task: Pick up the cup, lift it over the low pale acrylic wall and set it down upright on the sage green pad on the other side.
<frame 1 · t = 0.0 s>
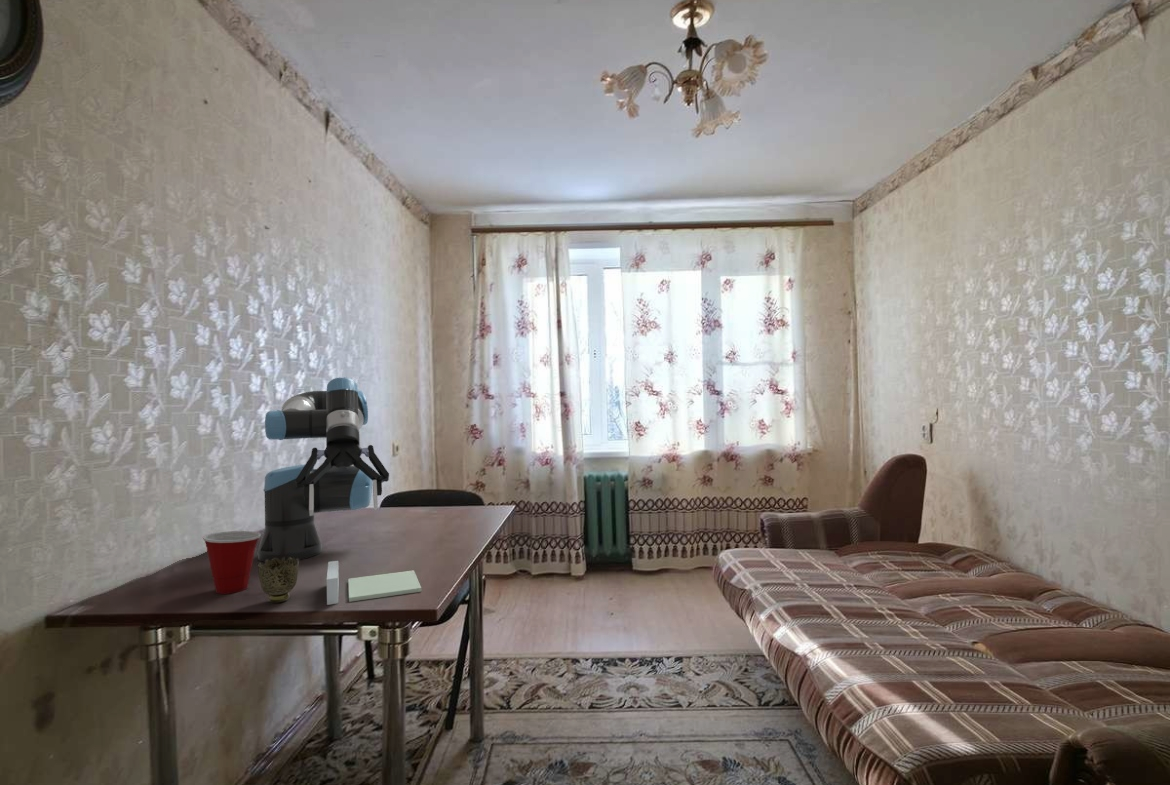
hand: (344, 510, 133), 15 cm above the table, tool tilted 35°, fingers open, 13 cm apart
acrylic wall: (333, 593, 122), on the table
green pad: (383, 586, 126), on the table
plastic cup: (233, 590, 126), on the table
cup: (279, 601, 118), on the table
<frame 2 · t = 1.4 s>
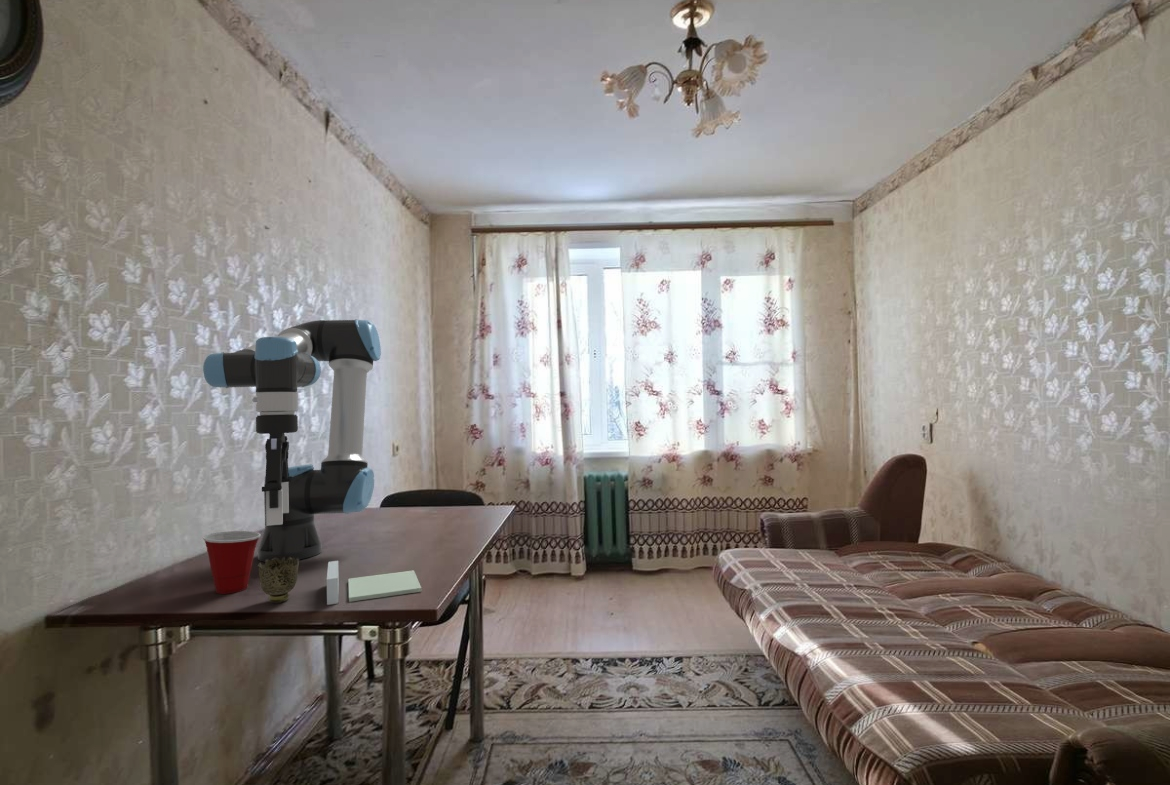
hand: (278, 518, 118), 17 cm above the table, tool pointing down, fingers open, 13 cm apart
nothing on the table moved.
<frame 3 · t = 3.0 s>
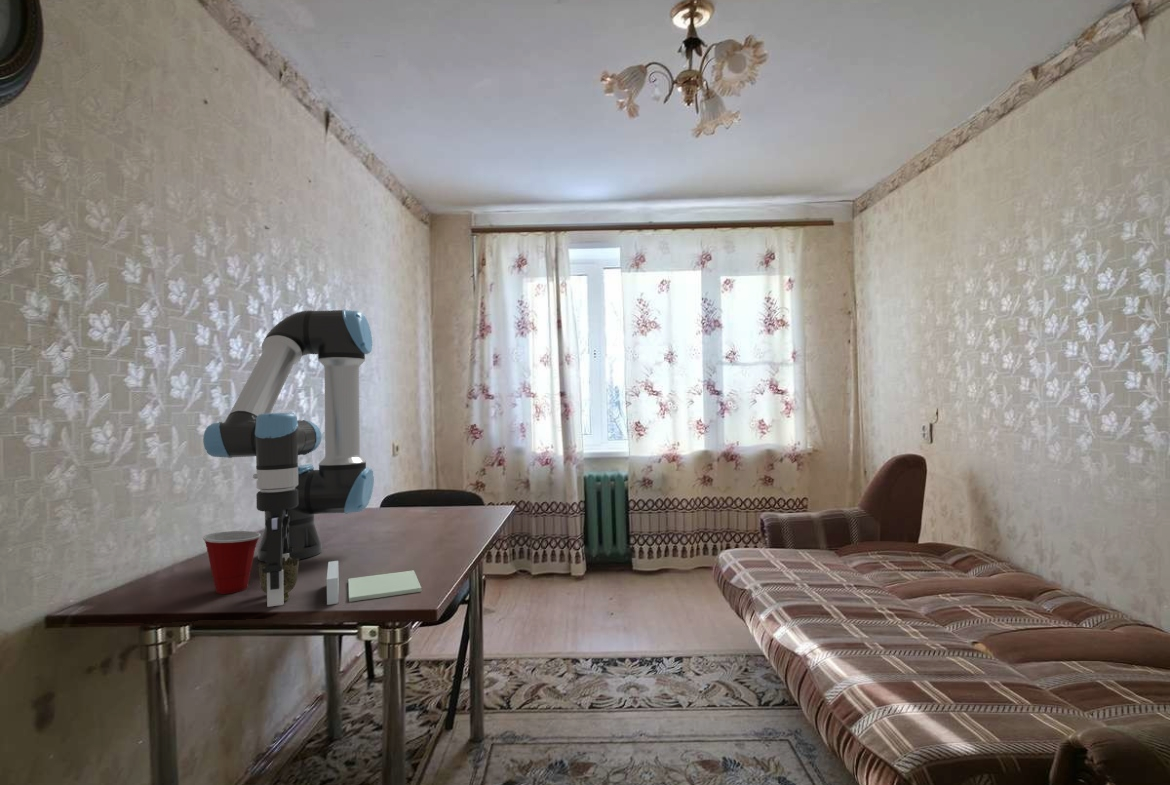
hand: (279, 594, 118), 1 cm above the table, tool pointing down, fingers open, 13 cm apart
nothing on the table moved.
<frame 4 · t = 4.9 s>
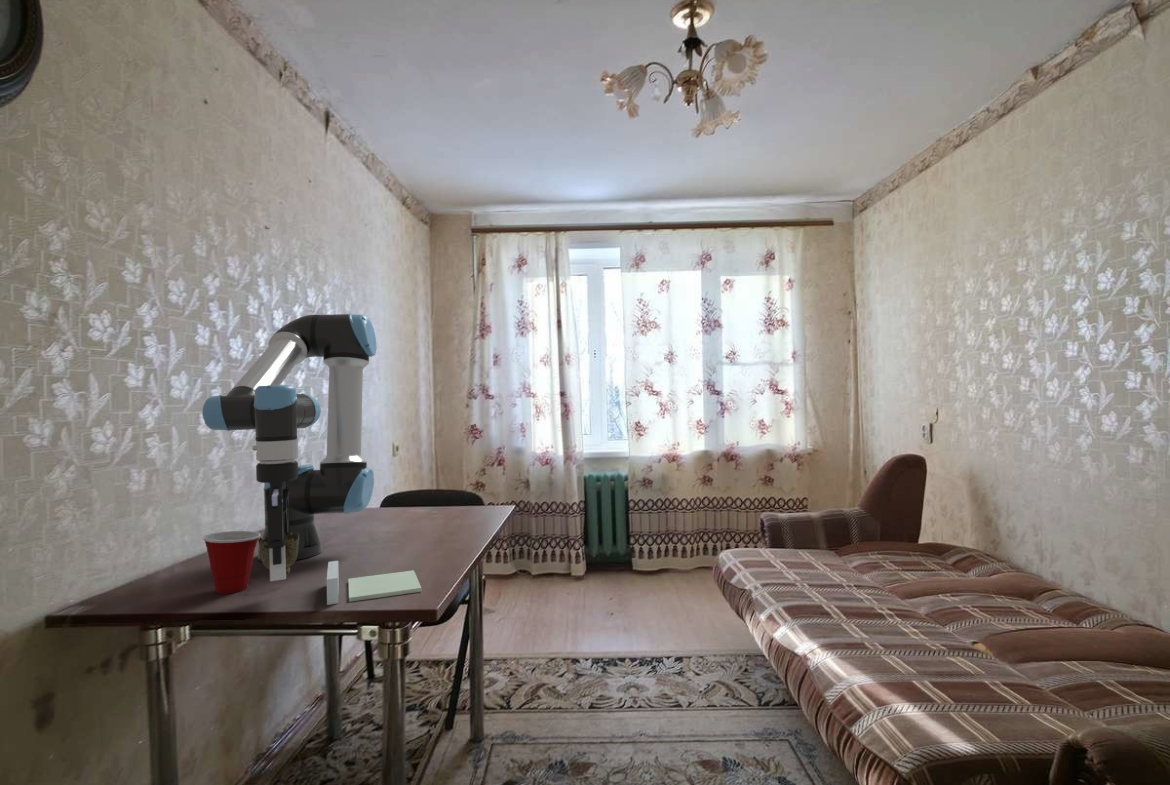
hand: (280, 574, 119), 5 cm above the table, tool pointing down, fingers closed on cup, 7 cm apart
cup: (280, 576, 118), point 5 cm above the table, touching gripper
everything else where it was.
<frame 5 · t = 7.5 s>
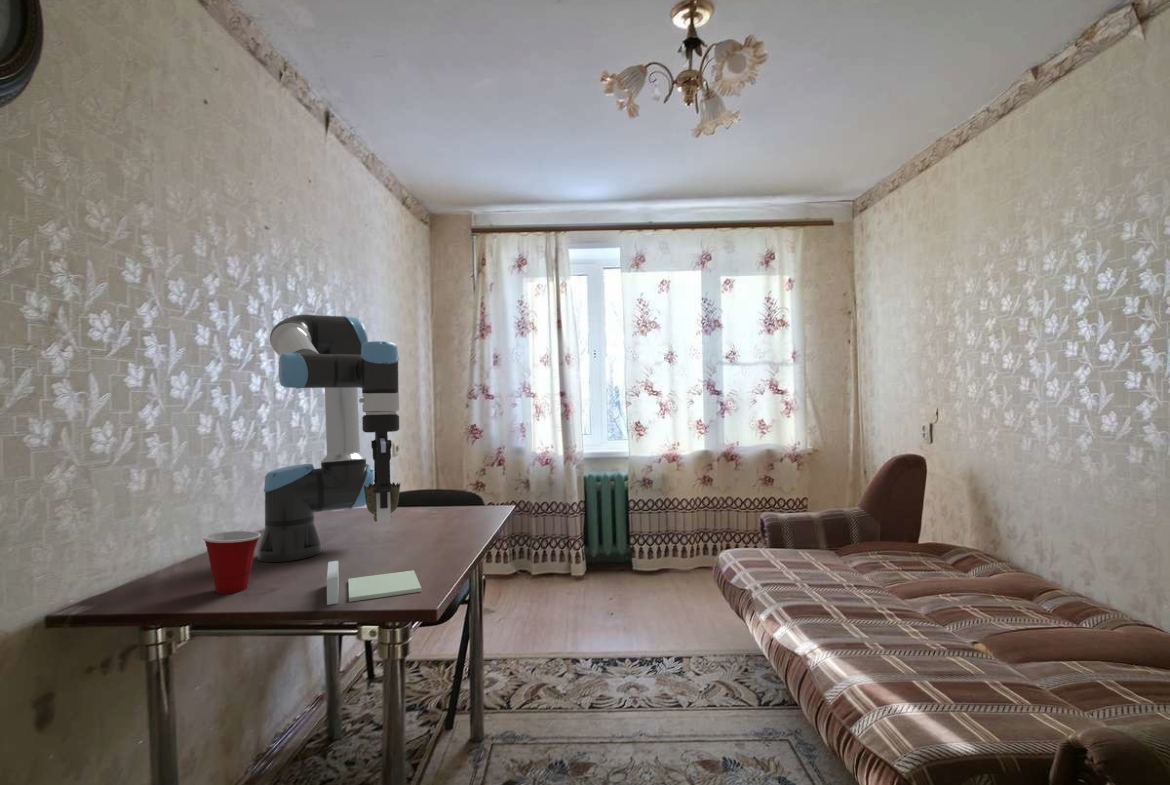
hand: (382, 520, 126), 14 cm above the table, tool pointing down, fingers closed on cup, 7 cm apart
cup: (382, 522, 126), point 14 cm above the table, touching gripper
everything else where it was.
when the fingers open (2 cm above the table, at t = 10.5 s): cup stays where it is, resting on green pad.
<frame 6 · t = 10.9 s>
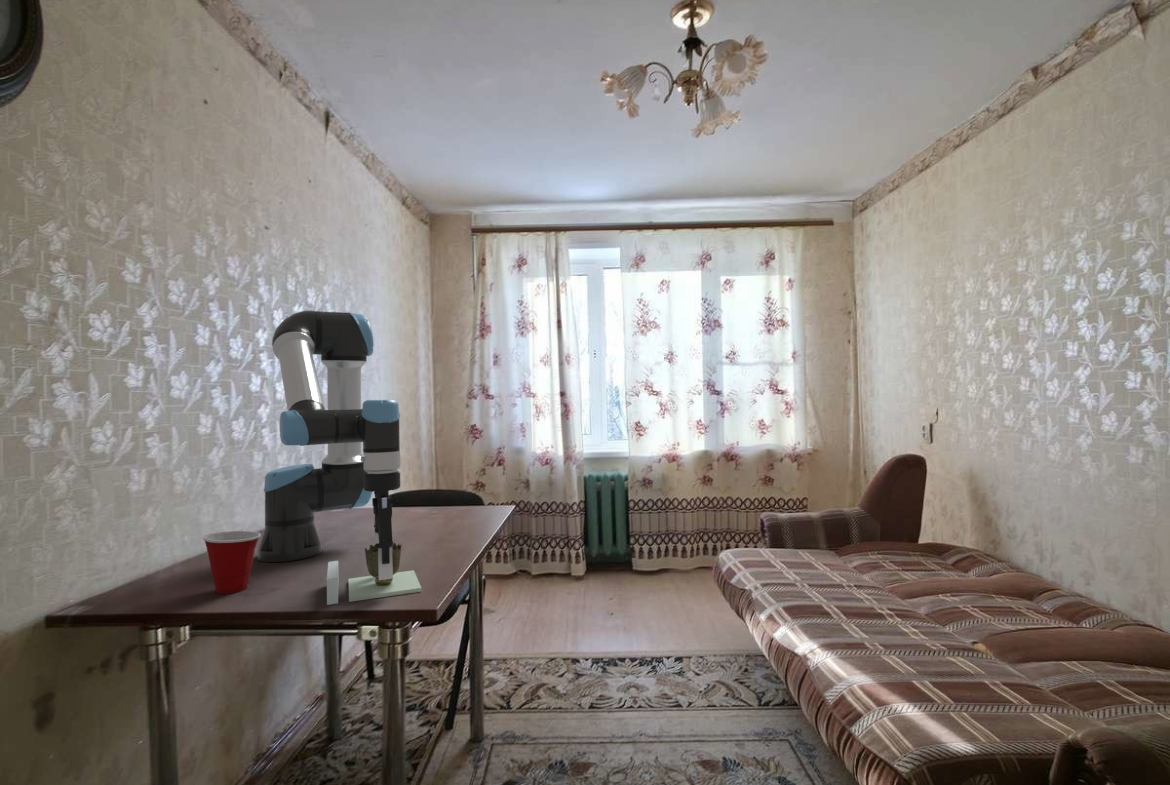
hand: (383, 570, 126), 3 cm above the table, tool pointing down, fingers open, 13 cm apart
cup: (383, 584, 125), point 1 cm above the table, touching green pad
everything else where it was.
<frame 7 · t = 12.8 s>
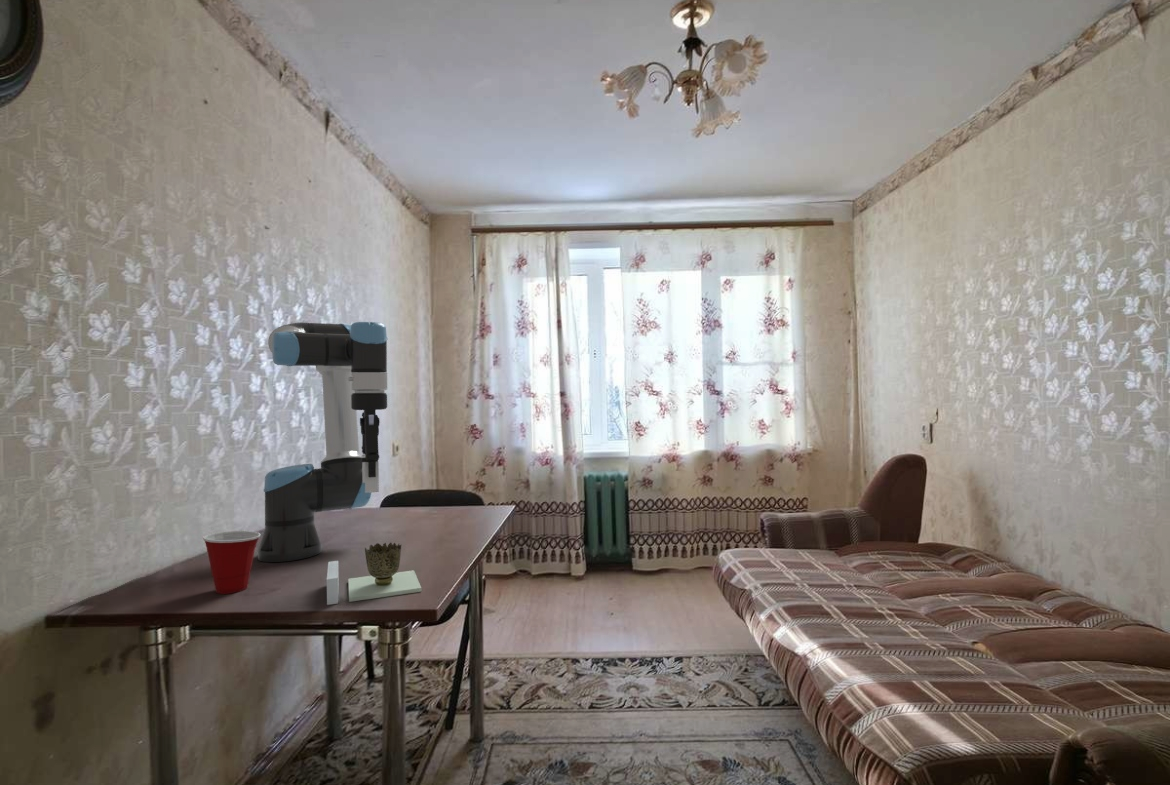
hand: (370, 487, 131), 21 cm above the table, tool pointing down, fingers open, 13 cm apart
nothing on the table moved.
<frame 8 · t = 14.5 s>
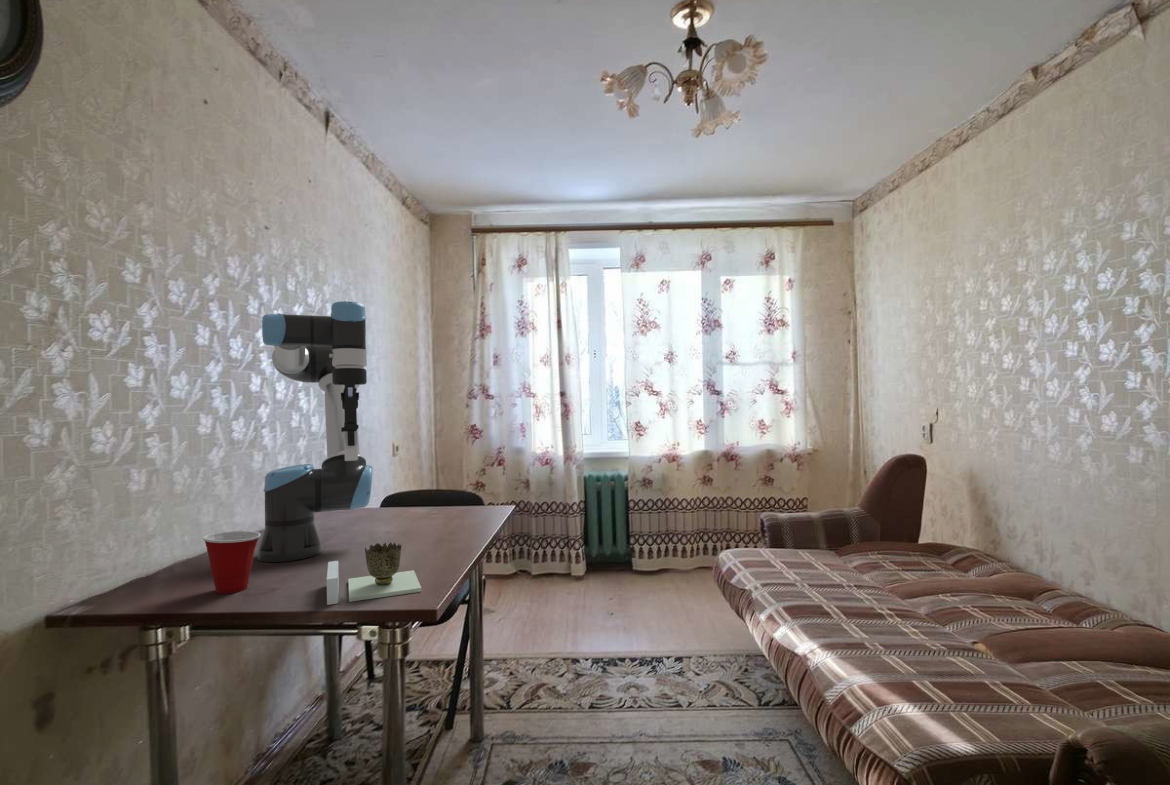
hand: (350, 458, 138), 27 cm above the table, tool pointing down, fingers open, 13 cm apart
nothing on the table moved.
at the end: cup inside the target area on the green pad (0.6 cm from its centre), point 0.6 cm above the green pad's base; cup tilted 0°; the gripper is holding nothing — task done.
